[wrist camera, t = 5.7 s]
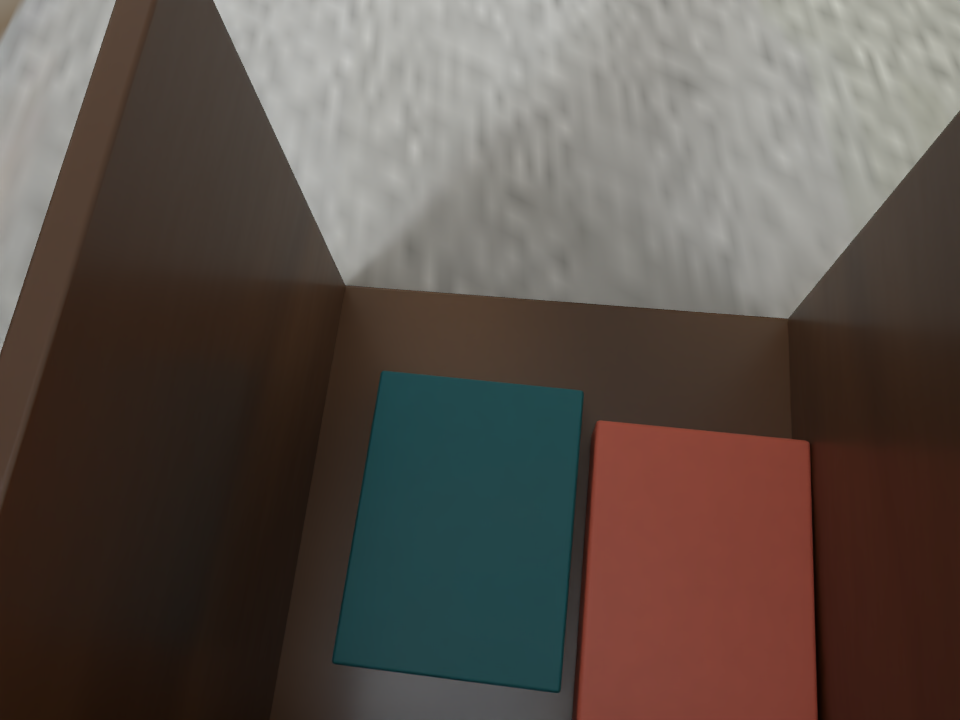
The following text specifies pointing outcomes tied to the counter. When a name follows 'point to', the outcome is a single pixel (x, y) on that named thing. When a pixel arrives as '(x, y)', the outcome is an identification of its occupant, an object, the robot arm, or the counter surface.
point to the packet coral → (696, 578)
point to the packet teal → (464, 532)
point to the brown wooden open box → (350, 409)
